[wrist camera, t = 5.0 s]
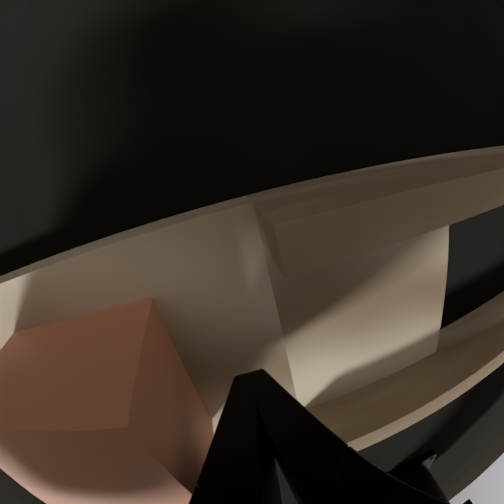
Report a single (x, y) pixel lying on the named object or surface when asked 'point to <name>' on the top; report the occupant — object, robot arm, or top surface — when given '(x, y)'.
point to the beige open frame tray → (302, 290)
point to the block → (101, 411)
